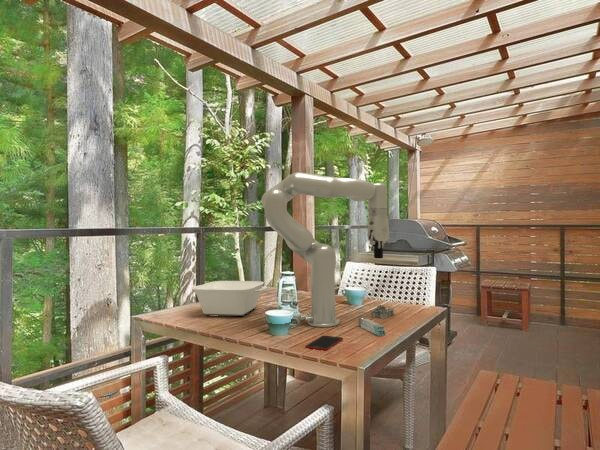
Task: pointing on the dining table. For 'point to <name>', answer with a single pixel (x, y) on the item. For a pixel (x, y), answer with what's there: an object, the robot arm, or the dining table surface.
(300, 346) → the dining table surface
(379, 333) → the tongs lower
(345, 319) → the dining table surface
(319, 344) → the cell phone
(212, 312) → the tub
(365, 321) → the tongs upper arm
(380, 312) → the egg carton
